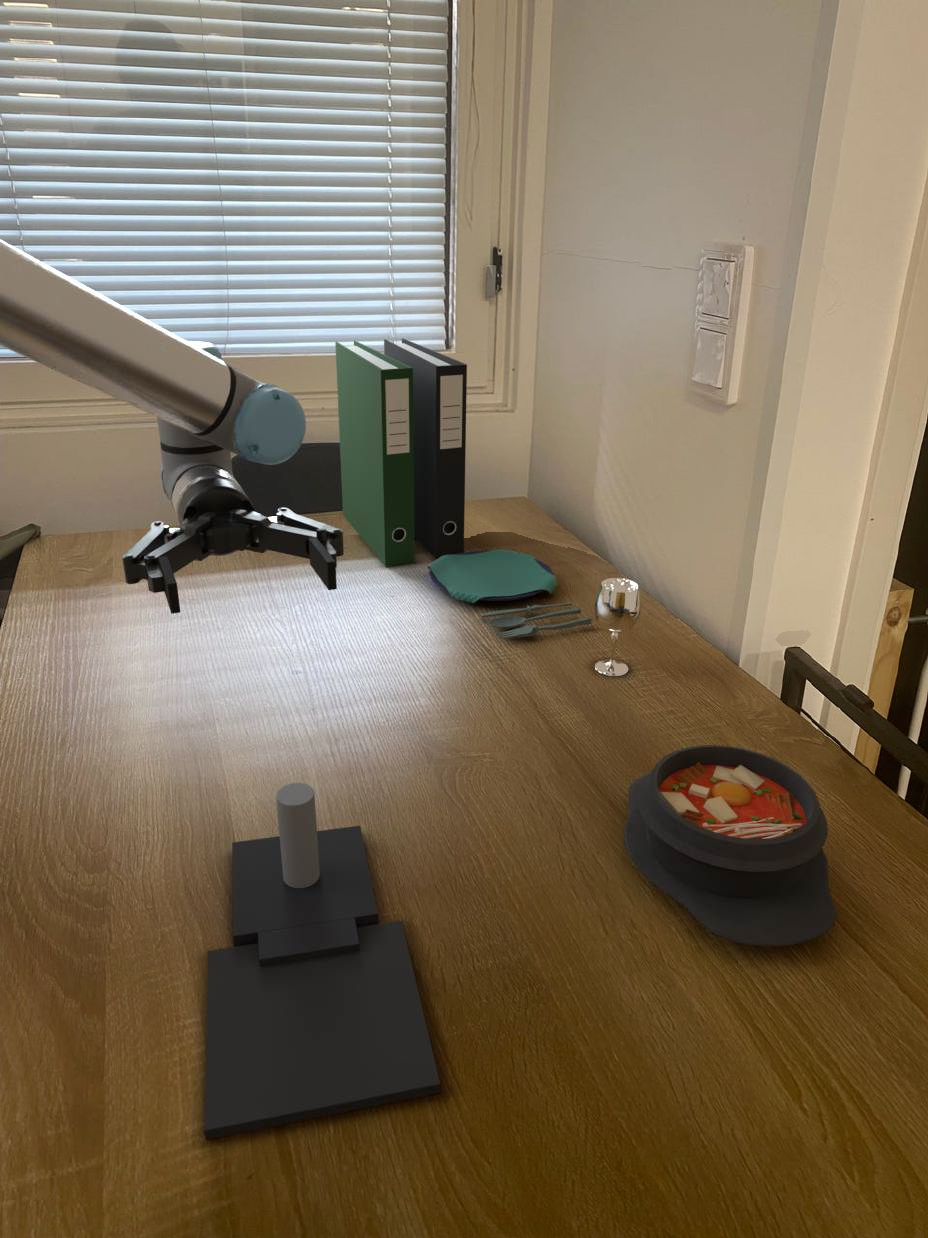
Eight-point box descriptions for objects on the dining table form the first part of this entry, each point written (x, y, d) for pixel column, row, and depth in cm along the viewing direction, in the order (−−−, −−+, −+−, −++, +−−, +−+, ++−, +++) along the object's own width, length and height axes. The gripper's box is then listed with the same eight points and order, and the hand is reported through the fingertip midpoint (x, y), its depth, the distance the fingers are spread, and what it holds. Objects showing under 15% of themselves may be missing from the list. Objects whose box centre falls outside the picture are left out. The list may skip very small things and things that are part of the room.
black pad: (205, 1141, 60) (203, 1131, 60) (209, 959, 74) (207, 950, 74) (440, 1093, 64) (440, 1084, 63) (401, 928, 78) (401, 919, 77)
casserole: (887, 948, 77) (909, 871, 73) (679, 977, 74) (692, 897, 70) (751, 775, 99) (763, 709, 95) (587, 792, 96) (593, 724, 92)
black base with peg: (235, 980, 73) (221, 875, 68) (233, 857, 86) (222, 762, 81) (384, 956, 75) (381, 853, 70) (360, 840, 88) (357, 746, 84)
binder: (339, 515, 173) (331, 341, 159) (412, 506, 178) (410, 337, 164) (385, 566, 151) (380, 369, 137) (467, 554, 156) (470, 364, 142)
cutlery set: (524, 555, 156) (525, 542, 155) (605, 628, 131) (606, 614, 130) (413, 568, 150) (413, 555, 149) (475, 648, 125) (476, 633, 124)
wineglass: (585, 658, 123) (592, 576, 117) (626, 657, 123) (635, 575, 118) (595, 679, 117) (603, 595, 112) (638, 678, 118) (648, 593, 113)
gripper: (330, 530, 102) (392, 604, 85) (93, 560, 93) (109, 649, 76) (327, 465, 99) (391, 528, 81) (81, 489, 90) (94, 566, 72)
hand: (255, 587), depth 78 cm, fingers open, 13 cm apart
